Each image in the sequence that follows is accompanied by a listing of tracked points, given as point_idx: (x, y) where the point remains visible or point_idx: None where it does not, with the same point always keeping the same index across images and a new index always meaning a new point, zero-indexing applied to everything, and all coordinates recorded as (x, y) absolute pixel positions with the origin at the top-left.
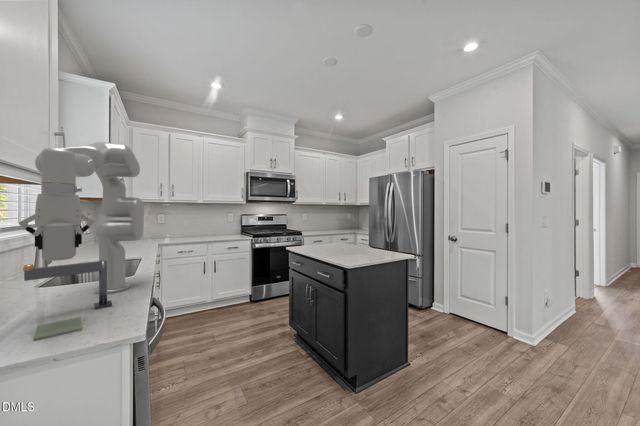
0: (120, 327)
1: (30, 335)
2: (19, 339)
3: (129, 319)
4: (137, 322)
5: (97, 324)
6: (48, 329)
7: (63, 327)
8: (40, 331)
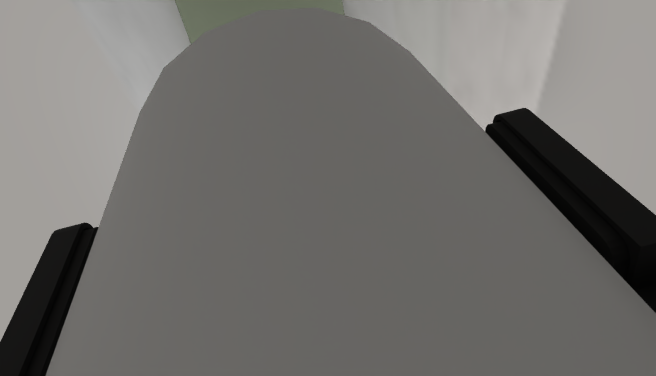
0: (472, 94)
1: (164, 14)
2: (143, 45)
3: (512, 11)
4: (530, 68)
5: (398, 9)
6: (222, 3)
7: (277, 9)
8: (197, 14)
